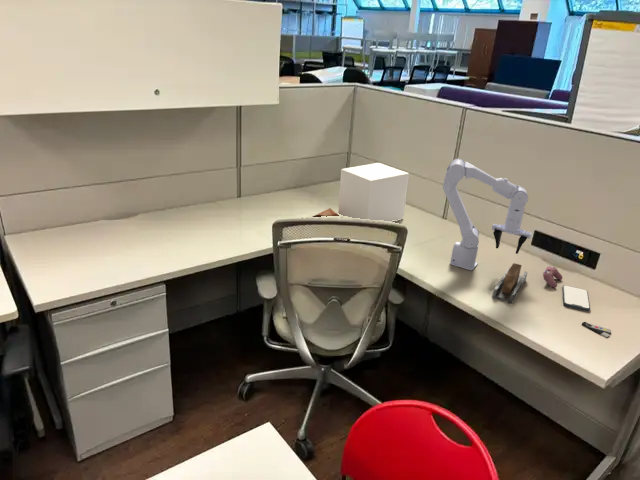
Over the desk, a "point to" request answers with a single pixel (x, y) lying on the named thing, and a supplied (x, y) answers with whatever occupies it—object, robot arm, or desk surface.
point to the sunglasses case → (326, 213)
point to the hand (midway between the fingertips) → (507, 250)
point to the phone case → (575, 298)
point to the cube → (373, 192)
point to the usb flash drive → (597, 329)
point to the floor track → (510, 297)
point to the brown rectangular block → (511, 278)
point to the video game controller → (551, 276)
